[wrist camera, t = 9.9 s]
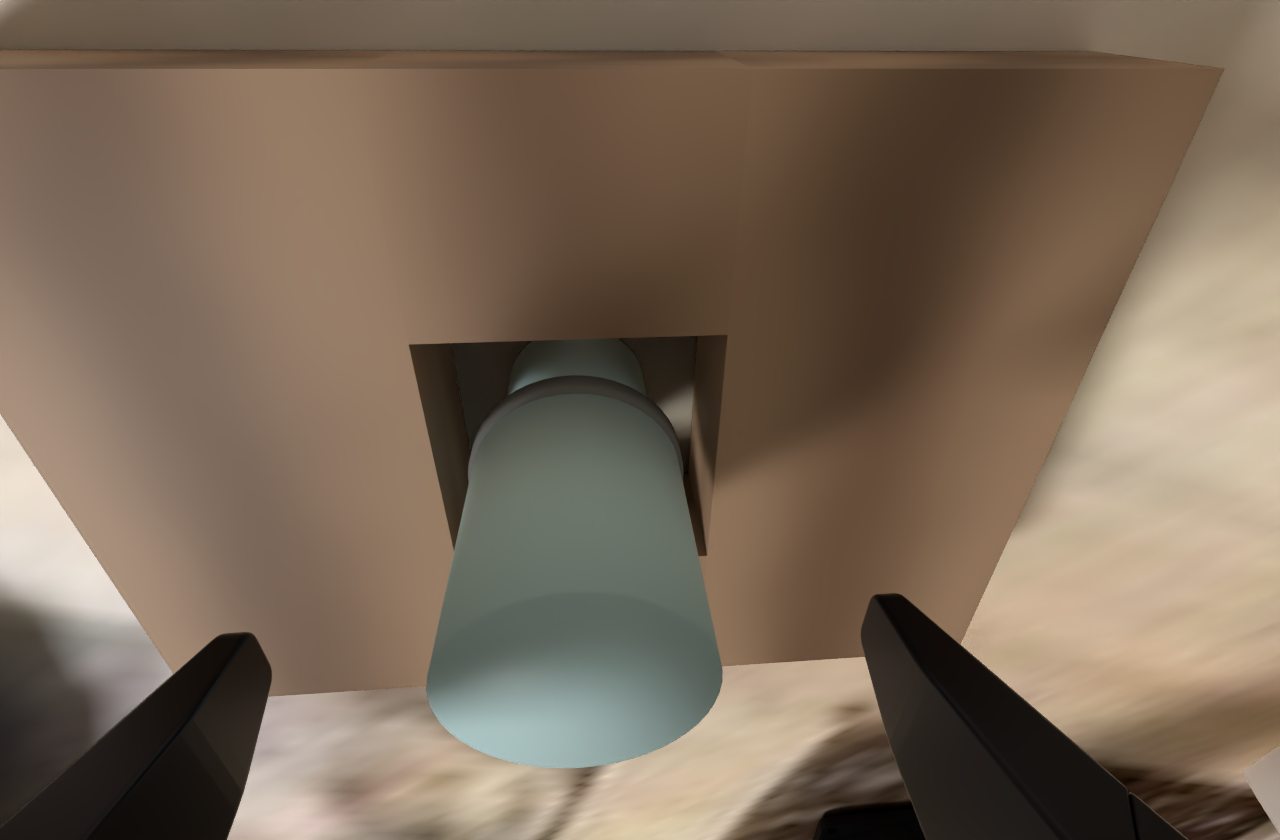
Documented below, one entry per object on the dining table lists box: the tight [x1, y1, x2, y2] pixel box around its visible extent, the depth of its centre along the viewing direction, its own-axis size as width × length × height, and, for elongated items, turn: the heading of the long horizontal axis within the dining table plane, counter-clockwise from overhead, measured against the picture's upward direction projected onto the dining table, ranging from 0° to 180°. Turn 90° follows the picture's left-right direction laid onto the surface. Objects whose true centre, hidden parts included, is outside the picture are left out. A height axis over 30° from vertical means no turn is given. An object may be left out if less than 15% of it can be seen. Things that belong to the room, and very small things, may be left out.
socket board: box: [0, 50, 1224, 697], centre depth 14 cm, size 20×14×3 cm
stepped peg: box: [426, 338, 722, 768], centre depth 12 cm, size 4×4×8 cm
